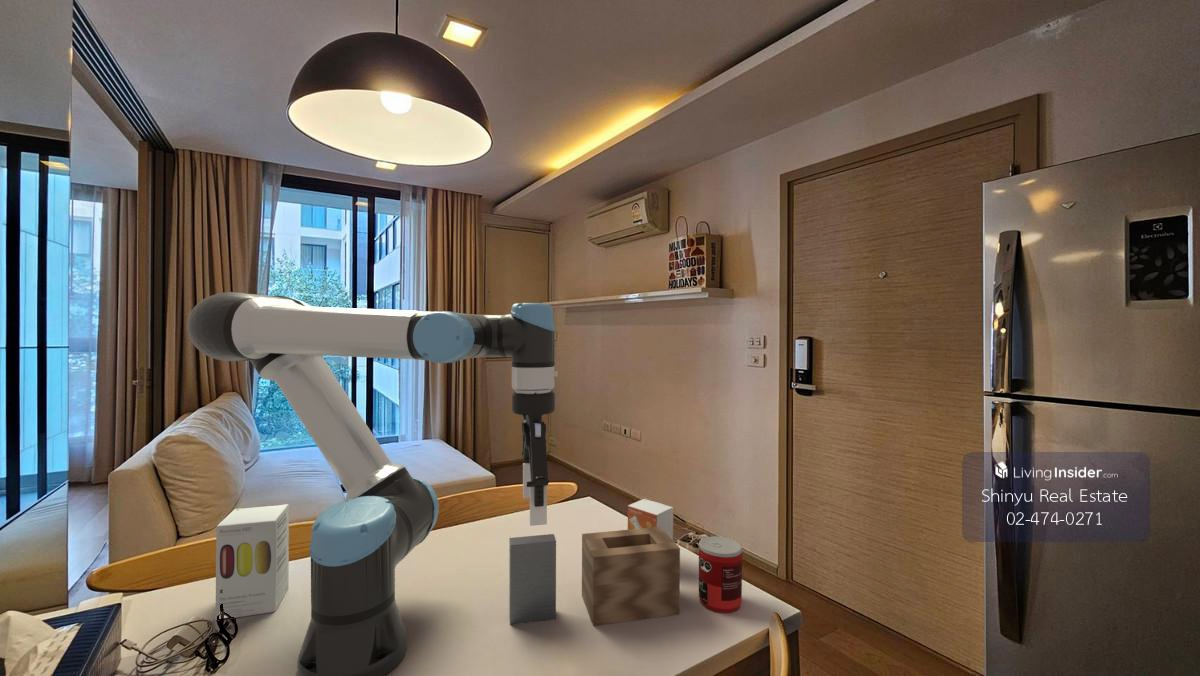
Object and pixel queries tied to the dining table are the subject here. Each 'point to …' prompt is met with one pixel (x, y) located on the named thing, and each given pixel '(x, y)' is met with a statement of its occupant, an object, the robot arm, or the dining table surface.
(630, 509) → the small box
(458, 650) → the dining table surface
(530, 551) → the grey slab
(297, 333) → the robot arm
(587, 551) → the wooden planter box
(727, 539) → the canned food
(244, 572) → the supplement box
